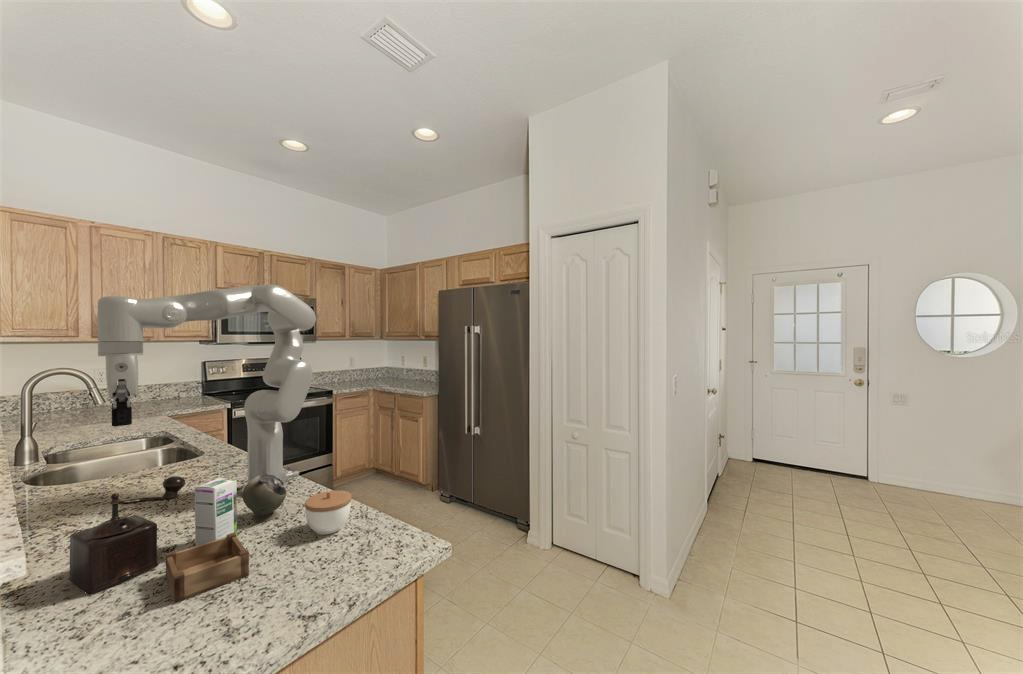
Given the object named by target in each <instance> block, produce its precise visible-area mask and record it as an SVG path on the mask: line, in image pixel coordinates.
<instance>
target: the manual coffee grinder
mask: <svg viewBox="0 0 1023 674" xmlns="http://www.w3.org/2000/svg"><path fill="white" fill-rule="evenodd" d="M185 485H186V479H185V478H184V477H181V476H178V475H175V476H174V475H173V476H170V477H167V478H165V479H164V480H163V481H162V487H163V489H164V493H163V495H161V496H157V497H156V496H155V497H154V496H153V497H147V496H146V497H140V498H134V499H132V498H131V499H128V500H120V498H119V497H120V494H119V493H118V492H113V493H112V494H111V495H110V499H111V500H110V502H109V505H111V517H110V519H107V520H105V521H103V522H102V523H100V524H98V525H96V526H93V527H90V528H86V529H83V530H80V531H77V532H74V533H71V534H70V537H69V581H70V583H71V584H72V585H73V586H75V587H76V588H78V589H79V590H81V591H82V590H83V591H84V592H83V591H82V592H83V593H85V592H86V593H87V595H90V594H93V595H95V594H97V593H100V592H103V591H104V590H107V589H110V588H113V587H115V586H117V585H119V584H122V583H124V582H127V581H129V580H132V579H134V578H135V577H137V576H140V575H142V574H145V573H146V572H149V571H151V570H153V569H155V568H157V567H158V566H159V564H158V523H156V522H154V521H152V520H150V519H147V518H145V517H142V516H139V515H137V514H133V515H129V516H120V515H119V505H125V506H126V505H133V504H139V503H140V504H141V503H147V502H163V501H166V502H170V501H171V500H175V499H178V498H179V493H178V492H179V491H180V490H181V489H182V488H184V487H185ZM86 593H85V594H86Z"/></svg>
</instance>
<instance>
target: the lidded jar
mask: <svg viewBox="0 0 1023 674" xmlns="http://www.w3.org/2000/svg"><path fill="white" fill-rule="evenodd" d="M304 508H305V512H304V513H305V519H306V523H307V525H308V526H309V528H310V529H311V530H312V531H314V532H315V534H316V535H321V536H325V535H333V534H335V533H337V532H338V531H340V530H341V529H342V528H343V526H344V524H346V522H347V521H348V519H349V517H350V513H351V508H352V494H351V493H350V492H349V491H345V490H329V491H322V492H319V493H316V494H314V495H312V496H310V497H308V498H307V499H306V500H305V502H304Z"/></svg>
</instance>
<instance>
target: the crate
mask: <svg viewBox="0 0 1023 674" xmlns="http://www.w3.org/2000/svg"><path fill="white" fill-rule="evenodd" d="M249 575H250V551H249V550H248V549H246V548H245V547H244V545H243V544H242V542H241V541H240V539H239V538H238V536H237V537H236V534H235V533H231V534H228V535H227V537H224V538H221V539H217V540H214V541H211V542H208V543H204V544H201V545H198V546H192V547H188V548H185V549H181V550H180V551H176V550H173V551H169V552H167V553H165V578H166V582H167V585H168V589H169V591H170V595H171V597H172V600H173V603H174V604H178V603H180V602H183V601H186V600H188V599H190V598H193V597H195V596H198V595H201V594H204V593H206V592H209V591H211V590H215V589H216V588H219V587H221V586H224V585H227V584H230V583H232V582H236V581H238V580H241V579H243V578H246V577H248V576H249Z"/></svg>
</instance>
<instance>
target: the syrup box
mask: <svg viewBox="0 0 1023 674" xmlns="http://www.w3.org/2000/svg"><path fill="white" fill-rule="evenodd" d="M237 491H238V490H237V479H234V478H224V477H222V478H219V477H217V478H215V479H214V480H211V481H208V482H205V483H203V484H200V485H198V486H195V487H194V519H195V520H194V526H195V527H194V530H195V531H194V533H195V535H194V537H195V546H198V545H201V544H204V543H208V542H211V541H214V540H217V539H221V538H224V537H227V535H228V534H231V533H235V534H236V537H237V538H238V518H237V517H238V512H237V509H238V507H237V505H238V503H237V500H238V499H237V495H238V494H237V493H238V492H237ZM195 546H194V547H195Z"/></svg>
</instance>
